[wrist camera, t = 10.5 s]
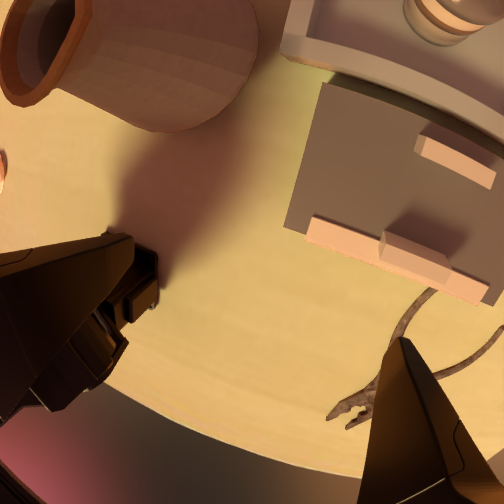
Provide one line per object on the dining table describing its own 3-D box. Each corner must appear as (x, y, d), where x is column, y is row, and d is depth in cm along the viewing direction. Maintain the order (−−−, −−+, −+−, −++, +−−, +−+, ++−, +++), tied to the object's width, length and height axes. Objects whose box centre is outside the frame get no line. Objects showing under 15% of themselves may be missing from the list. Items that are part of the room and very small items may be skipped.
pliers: (517, 314, 17) (395, 442, 27) (514, 308, 18) (396, 436, 28) (431, 274, 18) (322, 422, 28) (428, 268, 19) (323, 416, 29)
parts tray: (289, 60, 16) (278, 52, 13) (324, -78, 10) (318, -100, 7) (517, 154, 13) (538, 163, 11) (539, 11, 7) (558, 3, 5)
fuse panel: (288, 220, 21) (273, 244, 17) (325, 85, 16) (318, 77, 13) (483, 294, 18) (499, 327, 14) (536, 183, 13) (565, 201, 10)
